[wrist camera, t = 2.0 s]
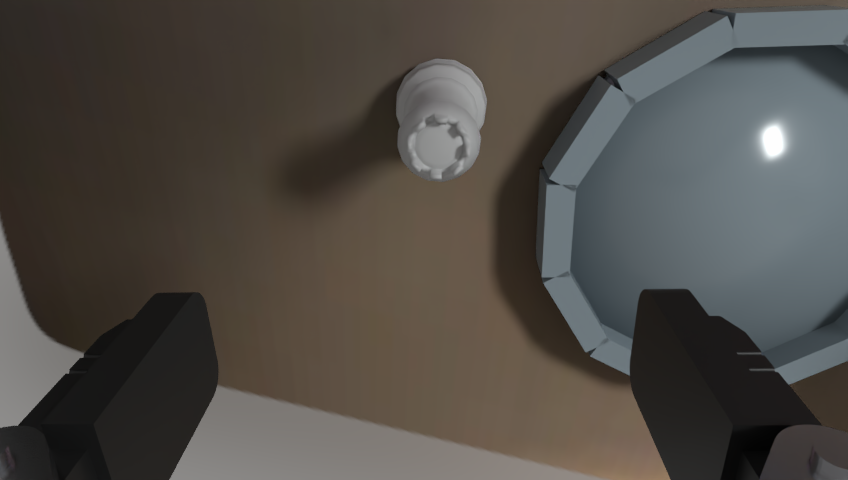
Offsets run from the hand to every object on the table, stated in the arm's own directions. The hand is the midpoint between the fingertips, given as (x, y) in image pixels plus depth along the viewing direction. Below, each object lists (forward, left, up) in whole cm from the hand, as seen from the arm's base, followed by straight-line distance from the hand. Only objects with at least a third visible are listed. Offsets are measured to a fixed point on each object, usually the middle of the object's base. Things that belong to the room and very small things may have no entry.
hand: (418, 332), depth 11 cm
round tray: (-15, +6, -21) cm, 26 cm away
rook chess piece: (0, 0, -21) cm, 21 cm away
